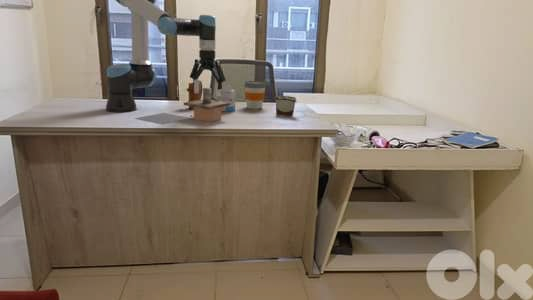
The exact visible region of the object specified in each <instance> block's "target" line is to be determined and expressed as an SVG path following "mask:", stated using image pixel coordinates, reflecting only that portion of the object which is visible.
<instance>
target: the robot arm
mask: <svg viewBox="0 0 533 300" xmlns="http://www.w3.org/2000/svg"><path fill="white" fill-rule="evenodd" d="M115 2H117V3H118V4H119V5H121V6H122V7H123V8H124V7H125V8H127V9H128V10H129V11H130V17H131V18H130V21H131V22H130V23H131V24H130V25H131V29H130V30H131V60H130V61H129V62H128V63H118V64H116V63H115V64H112V65H109V66H108V67H107V69H106V76H107V87H108V88H107V90H108V97H107V100H106V104H105V110H106V111H107V112H111V113H113V112H114V113H126V112H127V113H128V112H133V111H136V110H137V104H136V101H135V98H134V96H133V89H142V88H143V89H145V88H147V87H148V88H149V87H151V86H153V85H154V84H155V82H156V80H157V71H156V69H155V67H153V66H152V64H153V63H152V62H151V61H150V60H149V59H150V55H149V54H150V53H149V52H150V51H149V49H150V47H149V45H150V44H149V38H150V37H149V23H151V24H153V25H154V26H155V27H157V30H158V31H159V33H161V34H162V35H166V36H184V37H185V36H186V37H198V39H199V45H198V46H199V51H198V52H199V56H198V57H199V58H198V59H196V58H195V60H194V64H193V66H192V67H193V68H192V70H191V73H190V75H189V78H190V79H192V80H193V82H192V83H193V85H194V93H199V81H200V79H199V77H200V76H201V75H202V73H203V72H204V71H205V70H206V71H210V72H211V74H212V76H213V77H214V79H215V81H216V82H215V97H218V96H221V89H222V84H223V83H224V82H226V77H225V75H224V72H223V68H222V66H221V61H220V60H215V59H216V28H217V25H216V16H214V15H209V14H200V15H199V17H198V19H193V18H192V19H191V18H180V17H179V18H178V17H173V16H172V15H170V14H169V13H167V12H166V11H164V10H163V9H161V8H160V7H158V6H156V5H155V3H156V2H157V0H115Z"/></svg>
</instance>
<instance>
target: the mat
mask: <svg viewBox="0 0 533 300" xmlns="http://www.w3.org/2000/svg"><path fill="white" fill-rule="evenodd" d="M133 119H134V120H135V119H136V120H138V121H139V120H140V121H144V122H149V123H153V124H158V125H162V126H163V125H167V124H171V123H177V122H180V121H186V120H190V119H191V117H187V116H181V115H178V114H172V113H171V114H170V113H167V112H166V113H165V112H161V113H155V114H151V115H146V116H140V117H134V118H133Z"/></svg>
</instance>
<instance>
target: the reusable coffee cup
mask: <svg viewBox="0 0 533 300" xmlns="http://www.w3.org/2000/svg"><path fill="white" fill-rule="evenodd" d="M266 84H267V83H266V82H265V81H261V80H245V81H244V85H243V86H244V89H245V90H244V98H245V99H244V100H245V103H246V108H247V109H249V108H250V109H251V110H260V109H259V108H261V109H262V108H263V103H264V101H265V95H266V92H265V91H266V88H267V85H266Z"/></svg>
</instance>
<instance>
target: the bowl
mask: <svg viewBox="0 0 533 300" xmlns="http://www.w3.org/2000/svg"><path fill="white" fill-rule="evenodd" d="M193 119H194V120H197V121H200V122H216V121H220V120H221V119H222V111H221V107H219V108H214V109H203V108H198V107H194V109H193Z"/></svg>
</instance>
